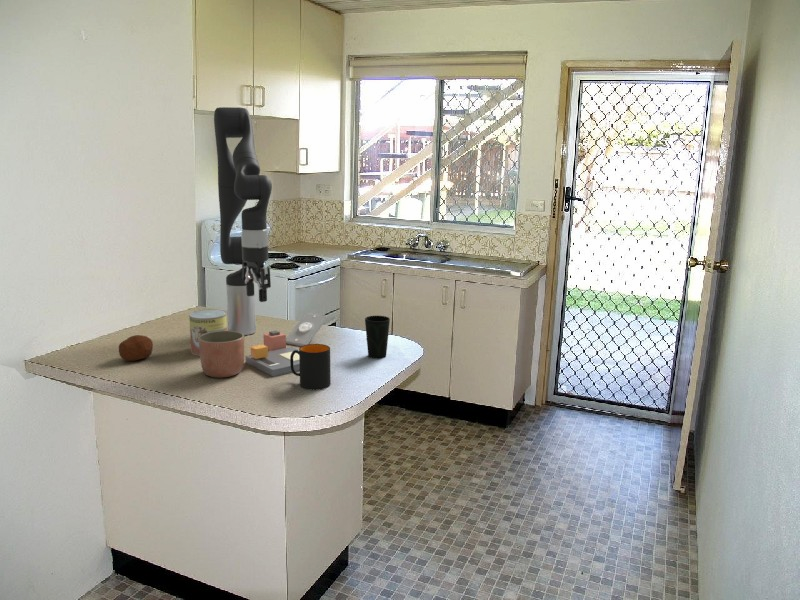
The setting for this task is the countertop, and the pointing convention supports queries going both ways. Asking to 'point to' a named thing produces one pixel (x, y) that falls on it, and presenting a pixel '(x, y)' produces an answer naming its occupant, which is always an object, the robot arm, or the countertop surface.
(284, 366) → the panel
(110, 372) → the countertop surface
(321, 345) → the mug
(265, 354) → the orange rectangular prism
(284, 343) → the pink square block
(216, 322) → the canned food
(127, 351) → the potato
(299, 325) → the light switch
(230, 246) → the robot arm
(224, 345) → the pink terracotta mug
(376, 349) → the cup
